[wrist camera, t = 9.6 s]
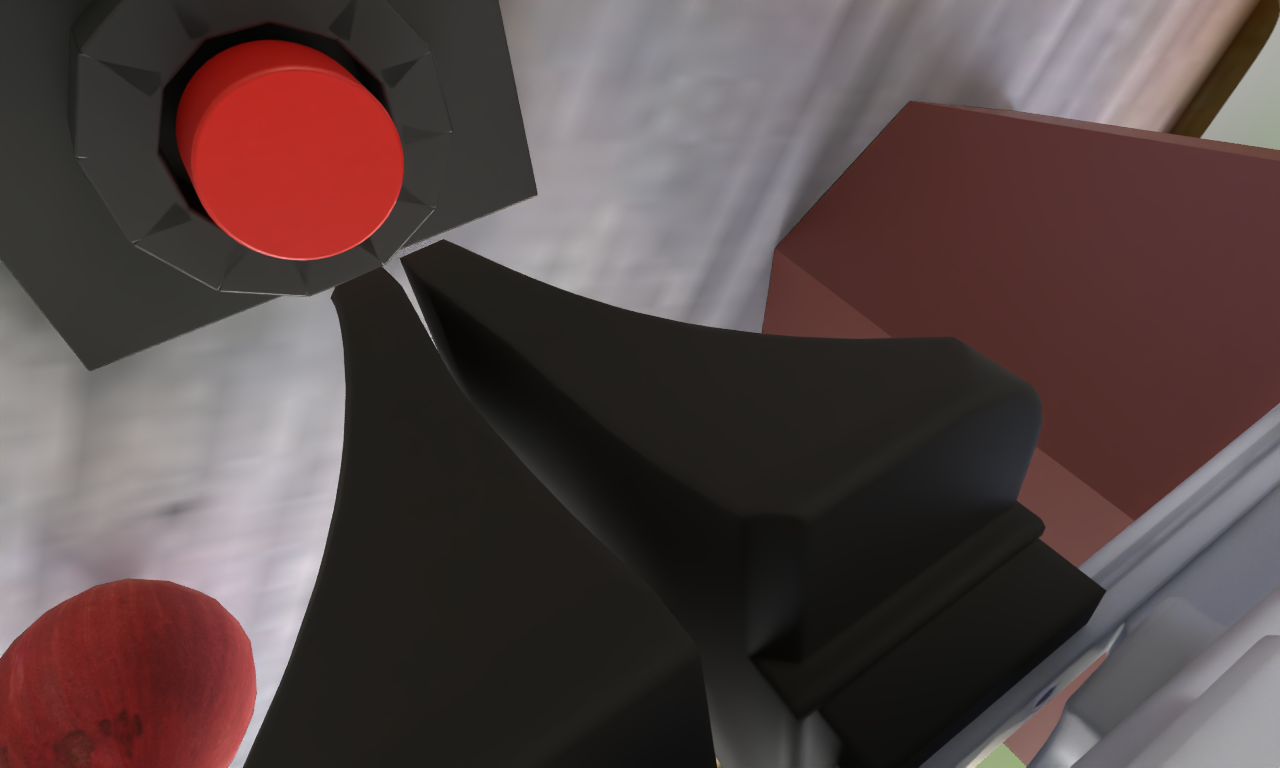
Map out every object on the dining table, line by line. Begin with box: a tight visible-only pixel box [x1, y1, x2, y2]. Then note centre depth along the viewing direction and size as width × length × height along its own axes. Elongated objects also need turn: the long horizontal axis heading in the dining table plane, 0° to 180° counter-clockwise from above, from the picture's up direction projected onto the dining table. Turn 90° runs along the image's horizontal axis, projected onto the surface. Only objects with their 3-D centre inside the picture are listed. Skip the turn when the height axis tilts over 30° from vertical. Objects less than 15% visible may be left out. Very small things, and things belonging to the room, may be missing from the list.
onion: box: [0, 579, 257, 768], centre depth 20 cm, size 6×6×8 cm
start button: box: [176, 40, 404, 260], centre depth 14 cm, size 4×4×2 cm
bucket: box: [762, 101, 1280, 766], centre depth 28 cm, size 24×22×25 cm
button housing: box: [0, 0, 538, 371], centre depth 16 cm, size 11×8×4 cm
